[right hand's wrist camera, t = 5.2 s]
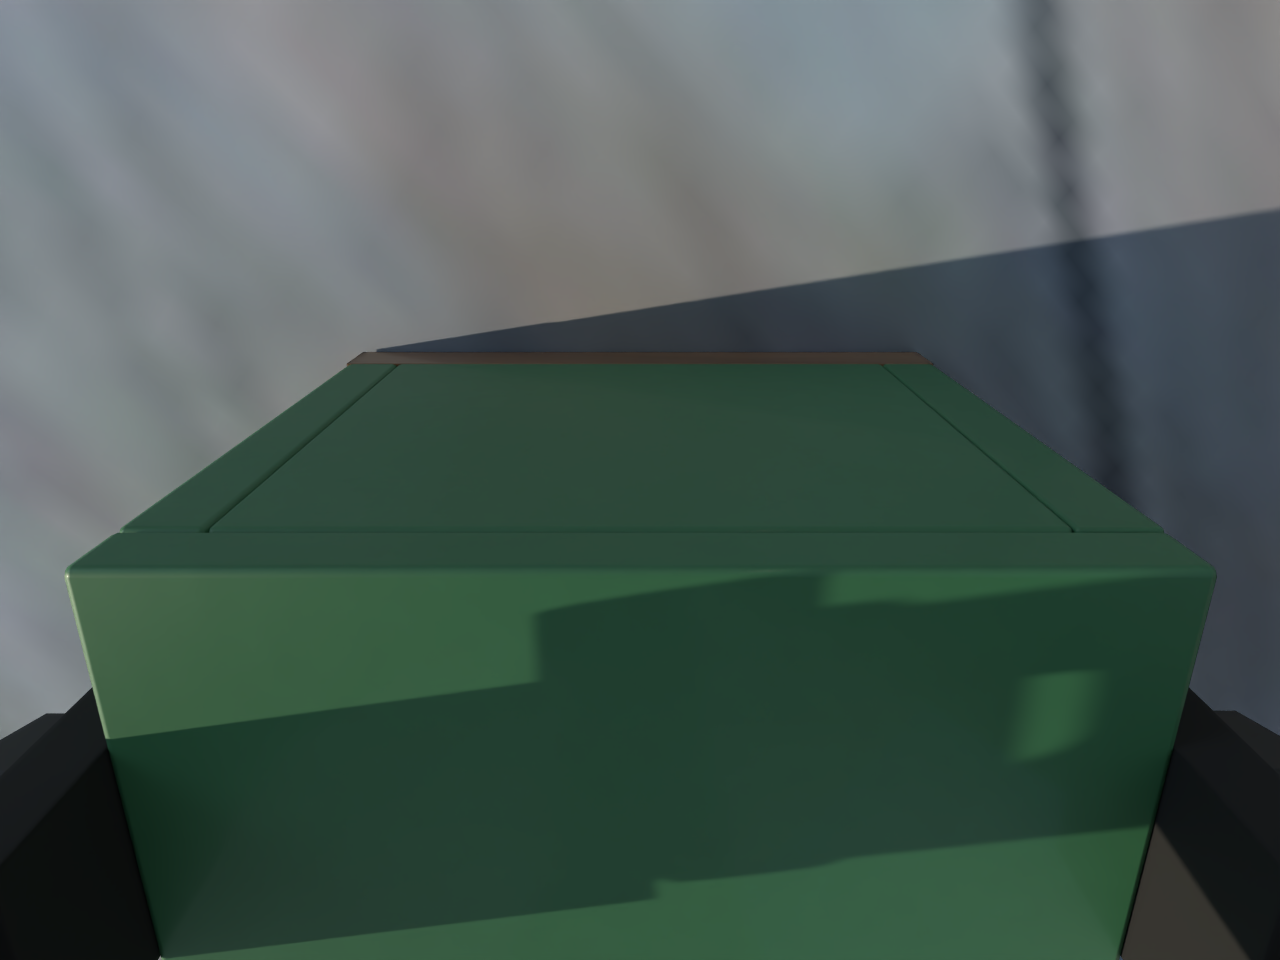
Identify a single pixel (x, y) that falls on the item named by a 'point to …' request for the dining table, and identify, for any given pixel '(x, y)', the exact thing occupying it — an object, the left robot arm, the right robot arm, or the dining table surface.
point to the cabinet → (640, 670)
